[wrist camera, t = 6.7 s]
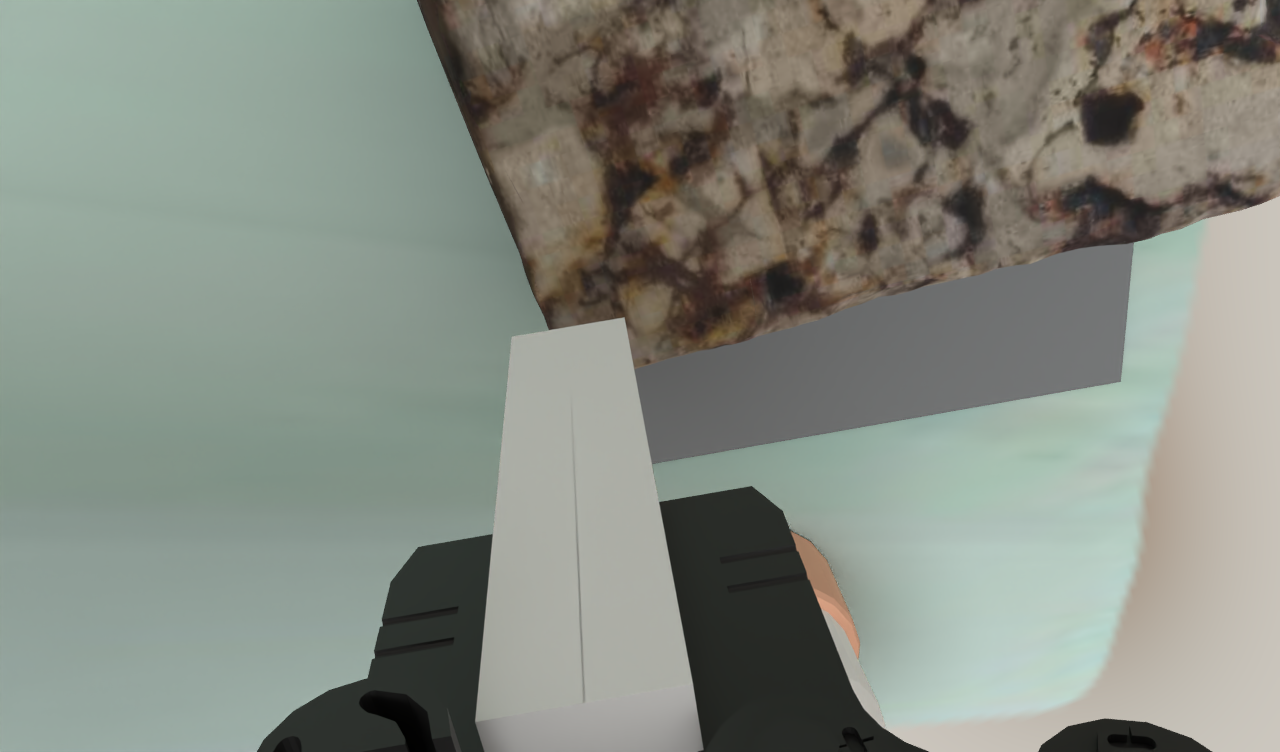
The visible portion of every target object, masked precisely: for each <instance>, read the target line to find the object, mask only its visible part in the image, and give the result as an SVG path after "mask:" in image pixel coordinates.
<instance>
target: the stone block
mask: <svg viewBox="0 0 1280 752" xmlns="http://www.w3.org/2000/svg"><path fill="white" fill-rule="evenodd" d="M417 2H418V4H419V7H420V10H421V12H422V15H423V18H424V20H425V23H426V26H427V28H428V31H429V33H430V36H431V38H432V41H433V43H434V46H435V48H436V51H437V53H438V56H439V58H440V61H441V63H442V66H443V68H444V71H445V73H446V76H447V78H448V81H449V83H450V86H451V88H452V91H453V93H454V96H455V98H456V101H457V103H458V106H459V108H460V111H461V113H462V116H463V118H464V121H465V123H466V126H467V128H468V131H469V133H470V136H471V138H472V140H473V143H474V145H475V148H476V150H477V153H478V155H479V158H480V160H481V163H482V165H483V168H484V170H485V173H486V175H487V178H488V180H489V182H490V185H491V187H492V189H493V192H494V194H495V196H496V199H497V201H498V203H499V206H500V208H501V211H502V213H503V215H504V218H505V220H506V222H507V225H508V227H509V229H510V232H511V234H512V236H513V239H514V241H515V243H516V246H517V248H518V250H519V253H520V256H521V259H522V263H523V266H524V270H525V273H526V276H527V279H528V281H529V284H530V287H531V290H532V292H533V295H534V297H535V299H536V301H537V303H538V305H539V307H540V309H541V311H542V313H543V315H544V317H545V320H546V323H547V326H548V328H549V330H553V329H559V328H565V327H571V326H577V325H583V324H589V323H595V322H601V321H606V320H612V319H618V318H624V317H625V323H626V328H627V334H628V339H629V344H630V350H631V355H632V360H633V366H634V369H637V368H640V367H644V366H647V365H651V364H654V363H657V362H660V361H663V360H666V359H670V358H674V357H679V356H683V355H687V354H690V353H694V352H697V351H703V350H710V349H714V348H718V347H721V346H724V345H733V344H737V343H741V342H744V341H748V340H750V339H752V338H755V337H757V336H761V335H765V334H769V333H773V332H777V331H781V330H785V329H789V328H793V327H796V326H799V325H802V324H805V323H809V322H813V321H817V320H820V319H822V318H825V317H827V316H830V315H832V314H835V313H837V312H839V311H842V310H844V309H847V308H850V307H853V306H857V305H860V304H863V303H865V302H868V301H870V300H873V299H875V298H877V297H881V296H892V295H898V294H902V293H905V292H909V291H912V290H915V289H918V288H921V287H924V286H930V285H935V284H939V283H944V282H949V281H953V280H958V279H962V278H966V277H971V276H978V275H981V274H984V273H986V272H989V271H992V270H995V269H999V268H1003V267H1009V266H1015V265H1025V264H1031V263H1034V262H1037V261H1039V260H1042V259H1045V258H1047V257H1050V256H1053V255H1055V254H1059V253H1063V252H1067V251H1071V250H1075V249H1079V248H1087V247H1095V246H1105V245H1121V244H1130V243H1133V242H1137V241H1142V240H1146V239H1150V238H1152V237H1155V236H1157V235H1159V234H1162V233H1166V232H1170V231H1174V230H1178V229H1182V228H1184V227H1186V226H1189V225H1191V224H1193V223H1195V222H1198V221H1200V220H1202V219H1206V218H1210V217H1214V216H1218V215H1222V214H1226V213H1231V212H1236V211H1240V210H1243V209H1246V208H1249V207H1252V206H1255V205H1259V204H1262V203H1264V202H1266V201H1269V200H1271V199H1273V198H1276V197H1278V196H1280V0H417Z"/></svg>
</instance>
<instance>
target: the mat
mask: <svg viewBox="0 0 1280 752" xmlns="http://www.w3.org/2000/svg"><path fill="white" fill-rule="evenodd" d="M1133 244H1134V242H1133V243H1130V244H1121V245H1105V246H1095V247H1087V248H1079V249H1075V250H1071V251H1067V252H1063V253H1059V254H1055V255H1053V256H1050V257H1047V258H1045V259H1042V260H1039V261H1037V262H1034V263H1031V264H1025V265H1015V266H1009V267H1003V268H999V269H995V270H992V271H989V272H986V273H984V274H981V275H978V276H971V277H966V278H962V279H958V280H953V281H949V282H944V283H939V284H935V285H930V286H924V287H921V288H918V289H915V290H912V291H909V292H905V293H902V294H898V295H892V296H881V297H877V298H875V299H873V300H870V301H868V302H865V303H863V304H860V305H857V306H853V307H850V308H847V309H844V310H842V311H839V312H837V313H835V314H832V315H830V316H827V317H825V318H822V319H820V320H817V321H813V322H809V323H805V324H802V325H799V326H796V327H793V328H789V329H785V330H781V331H777V332H773V333H769V334H765V335H761V336H757V337H755V338H752V339H750V340H748V341H744V342H741V343H737V344H733V345H724V346H721V347H718V348H714V349H710V350H703V351H697V352H694V353H690V354H687V355H683V356H679V357H674V358H670V359H666V360H663V361H660V362H657V363H654V364H651V365H647V366H644V367H640V368H637V369H634V371H635V376H636V382H637V387H638V392H639V398H640V403H641V409H642V414H643V419H644V425H645V430H646V435H647V441H648V446H649V451H650V457H651V462H652V464H654V463H660V462H665V461H671V460H677V459H682V458H688V457H694V456H700V455H705V454H711V453H717V452H722V451H728V450H734V449H739V448H745V447H751V446H757V445H762V444H768V443H774V442H779V441H785V440H791V439H796V438H802V437H808V436H814V435H819V434H825V433H831V432H836V431H842V430H848V429H853V428H859V427H865V426H871V425H876V424H882V423H888V422H893V421H899V420H905V419H910V418H916V417H922V416H928V415H933V414H939V413H945V412H950V411H956V410H962V409H967V408H973V407H979V406H985V405H990V404H996V403H1002V402H1007V401H1013V400H1019V399H1024V398H1030V397H1036V396H1042V395H1047V394H1053V393H1059V392H1064V391H1070V390H1076V389H1081V388H1087V387H1093V386H1099V385H1104V384H1110V383H1116V382H1121V373H1122V362H1123V352H1124V341H1125V330H1126V319H1127V309H1128V298H1129V287H1130V277H1131V266H1132V255H1133Z"/></svg>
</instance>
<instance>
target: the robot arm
mask: <svg viewBox="0 0 1280 752" xmlns="http://www.w3.org/2000/svg"><path fill="white" fill-rule="evenodd" d="M382 622H383V627H380V629H379V633H378V637H377V642H376V646H375V650H374V652H375V659H372V662H371V666H370V671H369V675H368V679H364V680H360V681H357V682H354V683H351V684H348V685H344V686H341V687H338V688H335V689H332V690H329V691H327V692H325V693H324V694H322V695H320V696H318V697H317V698H315V699H313V700H312V701H310V702H308V703H307V704H305V705H303V706H302V707H300V708H298V709H296V710H295V711H293V712H292V713H291V714H290V715H289V716H288V717H287V718H286V719H285V720H284V721H283V722H282V723H281V724H280V725H279V726H278V727H277V728H276V729H274V730H273V731H272V732H271V733H270V734H269V735H268V736H267V737H266V738H265V739H264V740H263V742H262V744H261V746H260V747H259V749H258V751H257V752H928V751H926V750H923V749H921V748H918V747H916V746H913V745H911V744H908V743H906V742H904V741H902V740H901V739H899V738H898V737H896V736H895V735H893V734H892V733H890V732H889V731H887V730H885V729H884V728H882V727H881V726H880V725H879V724H878V723H877V722H876V721H875V720H874V719H873V718H872V717H871V716H870V715H869V714H868V713H867V712H866V711H865V710H864V708H863V706H862V705H861V703H860V701H859V700H858V698H857V696H856V694H855V693H854V691H853V689H852V686H851V684H850V681H849V679H848V676H847V674H846V671H845V668H844V666H843V663H842V661H841V658H840V656H839V653H838V651H837V648H836V646H835V643H834V640H833V638H832V635H831V633H830V630H829V628H828V625H827V623H826V620H825V618H824V615H823V613H822V610H821V607H820V605H819V602H818V600H817V597H816V595H815V592H814V590H813V587H812V585H811V582H810V580H808V577H807V572H806V569H805V567H804V564H803V562H802V559H801V557H800V554H799V552H798V551H797V549H796V544H795V541H794V539H793V536H792V534H791V531H790V529H789V526H788V524H787V521H786V519H785V516H784V513H783V511H782V510H781V509H779V508H778V507H777V506H776V505H774V504H773V503H772V502H771V501H770V500H768V499H767V498H766V497H765V496H763V495H762V494H761V493H760V492H758V491H757V490H756V489H755V488H753V487H752V486H750V487H744V488H739V489H733V490H727V491H721V492H715V493H710V494H704V495H698V496H692V497H686V498H681V499H675V500H669V501H663V502H659V500H658V494H657V489H656V484H655V478H654V473H653V468H652V462H651V457H650V451H649V446H648V441H647V435H646V430H645V425H644V419H643V414H642V409H641V403H640V398H639V392H638V387H637V382H636V376H635V371H634V366H633V360H632V355H631V350H630V344H629V339H628V334H627V328H626V323H625V317H624V318H618V319H612V320H606V321H601V322H595V323H589V324H583V325H577V326H571V327H565V328H559V329H553V330H548V331H542V332H536V333H530V334H524V335H518V336H512V338H511V348H510V359H509V369H508V380H507V390H506V401H505V412H504V422H503V433H502V443H501V454H500V464H499V475H498V486H497V496H496V507H495V517H494V528H493V534H491V535H485V536H480V537H474V538H468V539H462V540H456V541H451V542H445V543H439V544H433V545H427V546H422V547H418V548H417V549H416V551H415V552H414V553H413V555H412V556H411V557H410V558H409V560H408V561H407V562H406V563H405V565H404V566H403V567H402V569H401V570H400V571H399V572H398V574H397V575H396V576H395V578H394V579H393V580H392V581H391V584H390V588H389V592H388V596H387V600H386V604H385V609H384V613H383V617H382ZM1039 752H1212V751H1210V750H1209V749H1207V748H1206V747H1204V746H1203V745H1201V744H1199V743H1198V742H1196V741H1195V740H1193V739H1192V738H1189V737H1187V736H1184V735H1181V734H1178V733H1175V732H1173V731H1170V730H1167V729H1164V728H1162V727H1158V726H1156V725H1153V724H1150V723H1147V722H1136V721H1126V720H1115V719H1100V720H1095V721H1091V722H1086V723H1081V724H1077V725H1072V726H1068V727H1066V728H1065V729H1063V730H1062V731H1061V732H1059V733H1058V734H1056V735H1055V736H1054V737H1052V738H1051V739H1049V740H1048V741H1046V742H1045V743H1044V744H1042V745H1041V748H1040V749H1039Z"/></svg>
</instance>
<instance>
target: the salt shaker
mask: <svg viewBox="0 0 1280 752" xmlns="http://www.w3.org/2000/svg"><path fill="white" fill-rule="evenodd" d="M791 534H792V536H793V539H794V541H795V544H796V549H797V551H798V552H799V554H800V557H801V559H802V562H803V564H804V567H805V569H806V572H807V577H808V580H810V582H811V585H812V587H813V590H814V592H815V595H816V597H817V600H818V602H819V605H820V607H821V610H822V613H823V615H824V618H825V620H826V623H827V625H828V628H829V630H830V633H831V635H832V638H833V640H834V643H835V646H836V648H837V651H838V653H839V656H840V658H841V661H842V663H843V666H844V668H845V671H846V674H847V676H848V679H849V681H850V684H851V686H852V689H853V691H854V693H855V694H856V696H857V698H858V700H859V701H860V703H861V705H862V706H863V708H864V710H865V711H866V712H867V713H868V714H869V715H870V716H871V717H872V718H873V719H874V720H875V721H876V722H877V723H878V724H879V725H880V726H881V727H882V728H884V729H885V730H886V725H885V722H884V719H883V716H882V713H881V710H880V707H879V704H878V701H877V699H876V697H875V695H874V693H873V691H872V689H871V686H870V684H869V682H868V680H867V678H866V676H865V674H864V671H863V669H862V667H861V665H860V663H859V661H858V658H859V647H860V641H859V638H858V634H857V631H856V628H855V625H854V622H853V619H852V617H851V615H850V612H849V610H848V608H847V605H846V603H845V601H844V599H843V596H842V594H841V592H840V589H839V587H838V585H837V583H836V580H835V578H834V576H833V573H832V571H831V569H830V567H829V564H828V562H827V560H826V559H825V558H824V557H823V556H822V554H821V553H820V552H819V551H818V550H817V549H816V548H815V546H814V545H813V544H812V543H811V542H810V541H808V540H806V539H804V538H803V537H801V536H799V535H797V534H795V533H793V532H792V531H791Z"/></svg>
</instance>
